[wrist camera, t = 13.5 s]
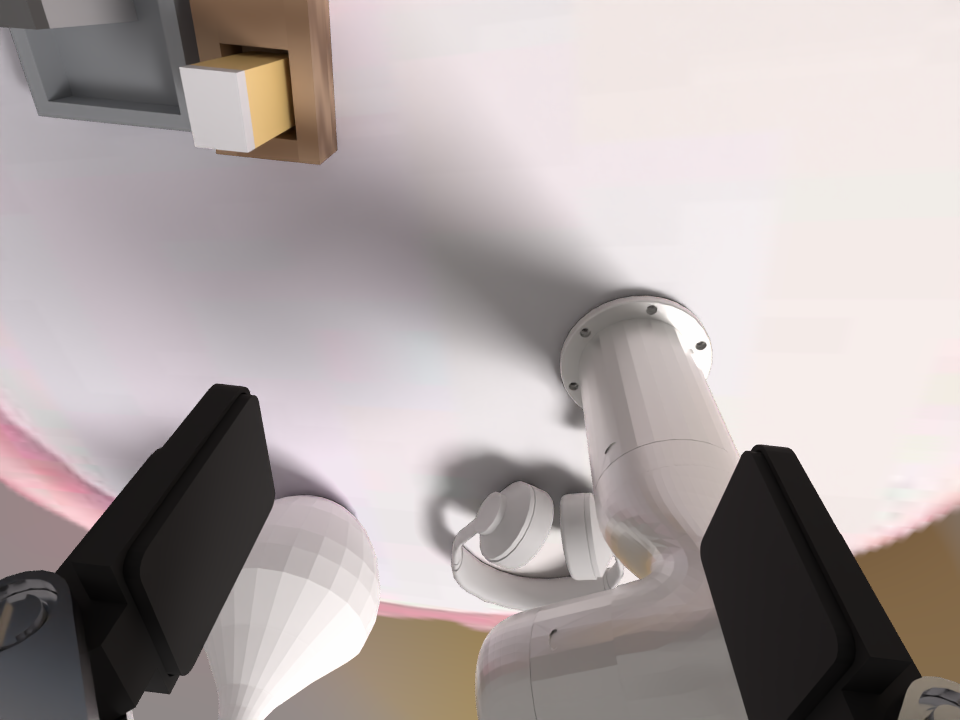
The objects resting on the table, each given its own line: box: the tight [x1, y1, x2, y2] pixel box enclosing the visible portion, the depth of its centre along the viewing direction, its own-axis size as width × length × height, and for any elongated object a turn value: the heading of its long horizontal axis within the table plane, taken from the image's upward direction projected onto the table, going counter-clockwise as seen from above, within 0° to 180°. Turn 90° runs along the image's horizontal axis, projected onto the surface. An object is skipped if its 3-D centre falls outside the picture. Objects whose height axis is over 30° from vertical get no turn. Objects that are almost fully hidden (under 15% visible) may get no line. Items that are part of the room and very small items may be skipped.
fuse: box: [179, 51, 296, 153], centre depth 34 cm, size 4×3×9 cm
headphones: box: [451, 481, 624, 611], centre depth 59 cm, size 18×8×20 cm
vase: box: [203, 495, 380, 720], centre depth 52 cm, size 18×18×30 cm
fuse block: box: [189, 0, 337, 165], centre depth 34 cm, size 16×7×4 cm, turn 175°
